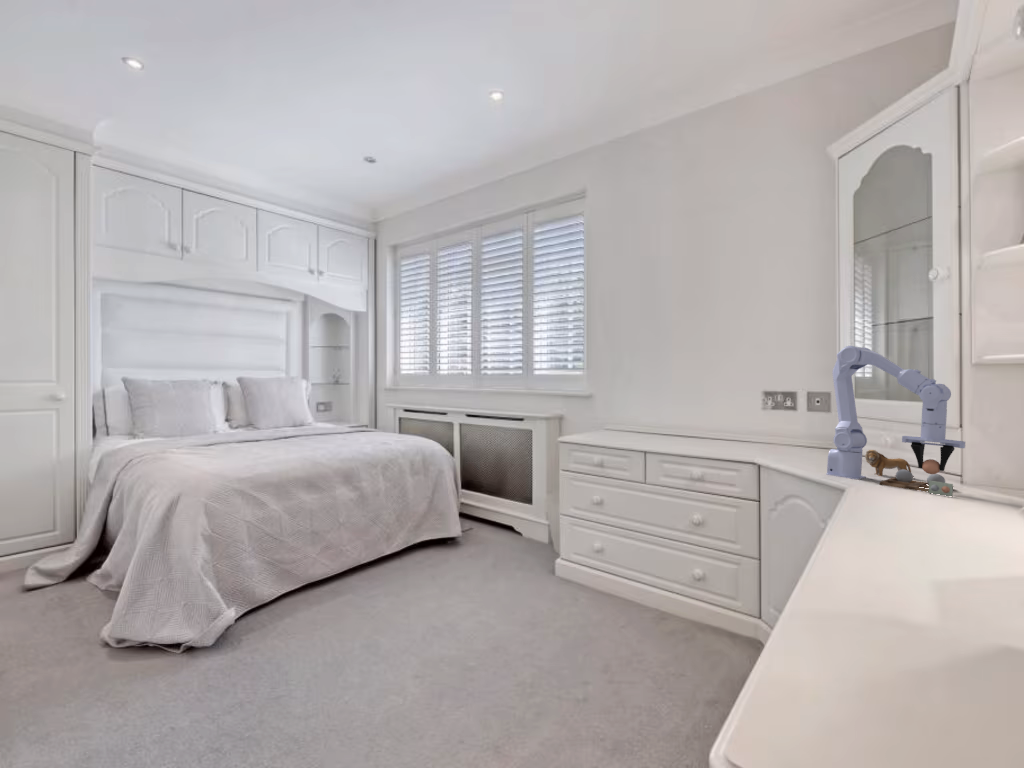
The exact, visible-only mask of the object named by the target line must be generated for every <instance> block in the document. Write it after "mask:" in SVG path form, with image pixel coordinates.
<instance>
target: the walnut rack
mask: <svg viewBox="0 0 1024 768" xmlns="http://www.w3.org/2000/svg"><path fill="white" fill-rule="evenodd" d="M926 484H928V483H927V481H918V480H913V479H912V481H911V482H909V483H907V482H901V481H898V480H897V479H896V477H891V478H887V479H884V480H881V481H879V485H880V486H887V487H893V488H899V489H905V490H913V491H917V490H921V491H920V492H923V491H928V492H927V493H929V489H925V488H929V486H927V485H926ZM928 485H929V484H928ZM919 487H924V488H919Z"/></svg>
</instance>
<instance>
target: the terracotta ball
mask: <svg viewBox="0 0 1024 768" xmlns="http://www.w3.org/2000/svg"><path fill="white" fill-rule="evenodd" d="M939 462H940V461H938V460H935V459H931V458H929V459H926V460H923V464H922V468H921V469H922V470H923V472H924V473H926V474H929V475H931V474H938V473H939V472H941V471H940V463H939Z"/></svg>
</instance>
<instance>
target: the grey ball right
mask: <svg viewBox="0 0 1024 768" xmlns="http://www.w3.org/2000/svg"><path fill="white" fill-rule="evenodd" d="M929 481H936V482H943V483H946V479H945V477H944V476H942V474H938V473H936V474H929V476H927V478H926V483H928V484H929Z"/></svg>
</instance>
